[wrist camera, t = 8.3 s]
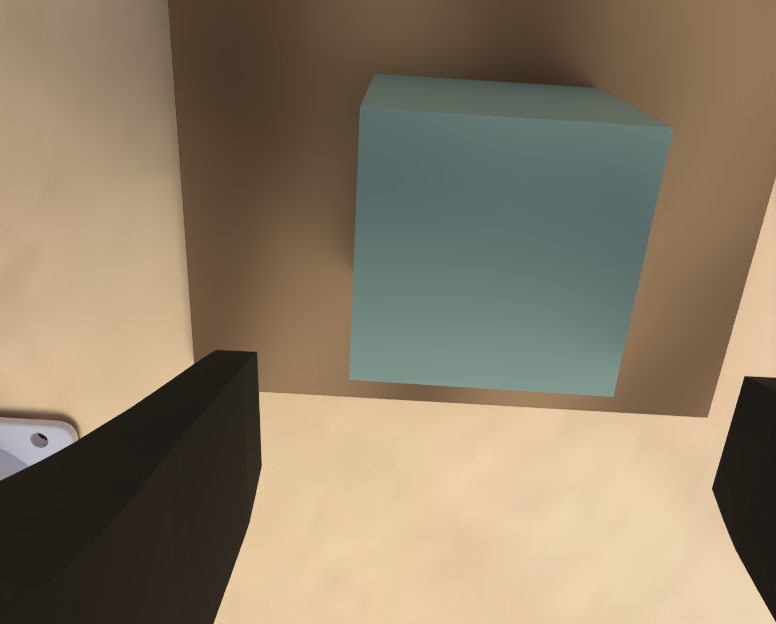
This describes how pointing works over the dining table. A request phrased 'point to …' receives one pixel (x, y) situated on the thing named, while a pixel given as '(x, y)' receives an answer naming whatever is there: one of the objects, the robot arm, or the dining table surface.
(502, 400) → the walnut board
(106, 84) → the dining table surface
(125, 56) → the dining table surface
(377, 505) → the dining table surface
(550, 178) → the teal cube
